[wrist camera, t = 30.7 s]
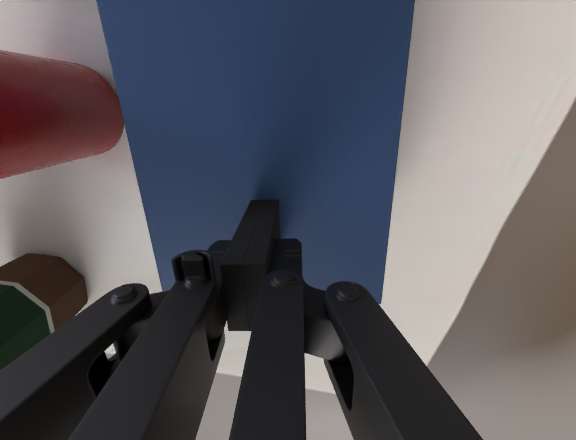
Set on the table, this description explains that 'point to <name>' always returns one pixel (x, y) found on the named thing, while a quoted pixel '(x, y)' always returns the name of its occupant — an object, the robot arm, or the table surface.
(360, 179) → the lid
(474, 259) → the table surface
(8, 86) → the can
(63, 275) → the beer bottle
